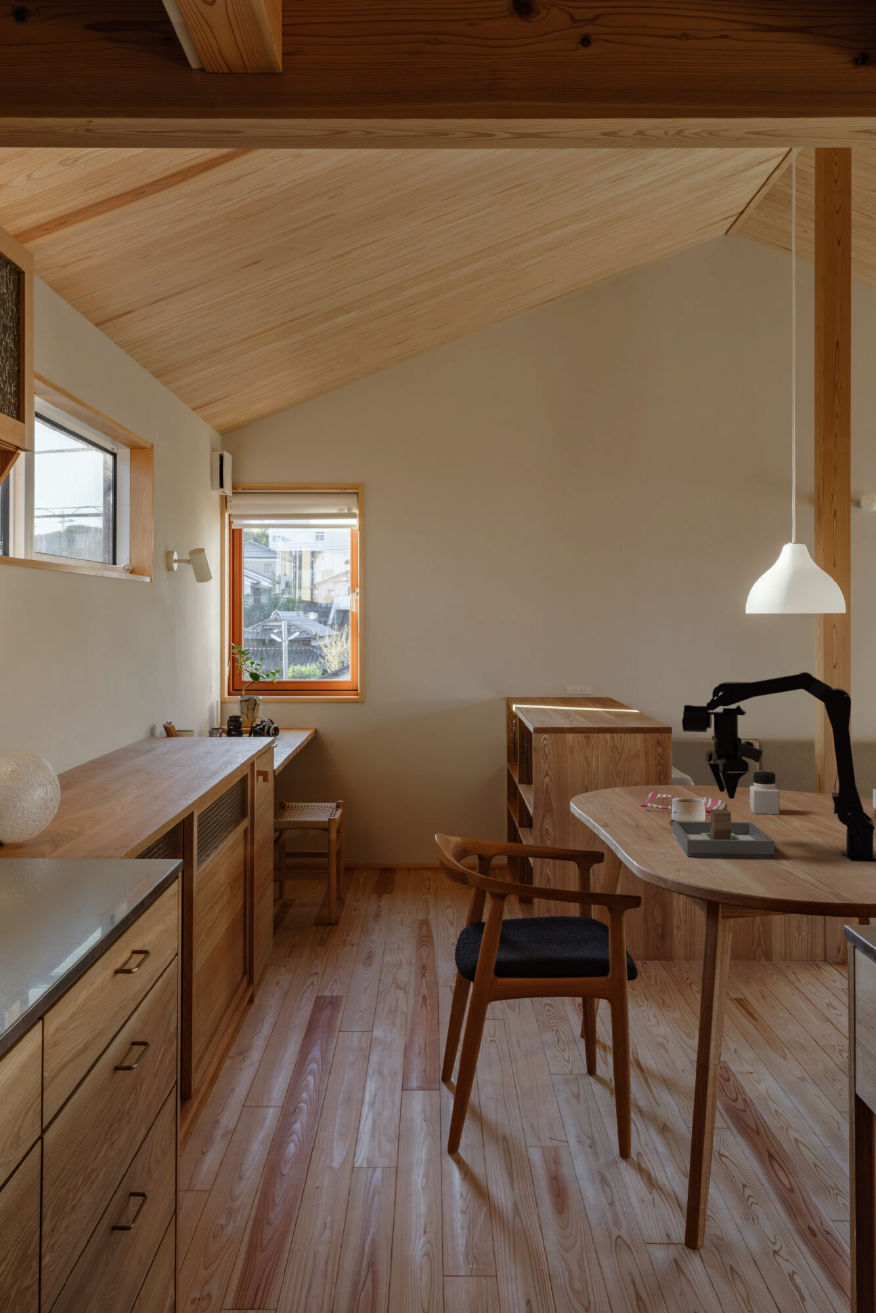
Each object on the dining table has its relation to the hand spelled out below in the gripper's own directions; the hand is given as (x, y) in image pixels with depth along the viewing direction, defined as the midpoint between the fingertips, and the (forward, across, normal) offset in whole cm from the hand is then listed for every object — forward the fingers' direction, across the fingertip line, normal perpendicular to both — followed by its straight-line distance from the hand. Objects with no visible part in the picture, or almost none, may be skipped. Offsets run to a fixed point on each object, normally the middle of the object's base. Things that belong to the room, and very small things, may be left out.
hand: (726, 795), depth 209 cm
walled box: (+13, -2, +2) cm, 13 cm away
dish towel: (+13, +45, +2) cm, 47 cm away
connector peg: (+12, -2, +2) cm, 12 cm away
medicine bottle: (+13, +40, -21) cm, 47 cm away
